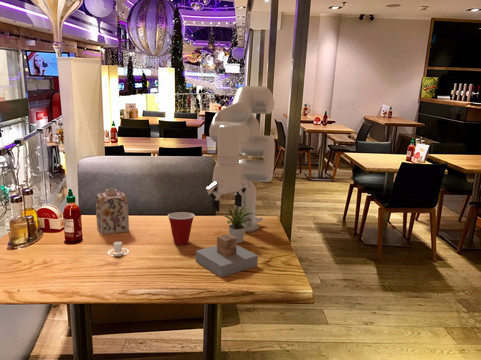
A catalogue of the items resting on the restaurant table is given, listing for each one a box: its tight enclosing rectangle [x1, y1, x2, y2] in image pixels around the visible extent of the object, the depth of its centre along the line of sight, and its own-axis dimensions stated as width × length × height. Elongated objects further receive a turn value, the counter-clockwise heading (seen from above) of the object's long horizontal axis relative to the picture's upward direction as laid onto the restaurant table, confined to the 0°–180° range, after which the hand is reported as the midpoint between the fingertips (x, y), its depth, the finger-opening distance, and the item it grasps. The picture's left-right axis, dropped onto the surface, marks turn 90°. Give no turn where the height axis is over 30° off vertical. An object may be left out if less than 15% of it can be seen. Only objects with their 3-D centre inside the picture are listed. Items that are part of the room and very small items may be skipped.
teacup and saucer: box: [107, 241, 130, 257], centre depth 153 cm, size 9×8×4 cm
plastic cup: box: [167, 211, 196, 246], centre depth 164 cm, size 11×11×12 cm
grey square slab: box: [194, 244, 259, 278], centre depth 146 cm, size 16×16×4 cm
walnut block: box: [216, 233, 238, 257], centre depth 145 cm, size 5×5×6 cm
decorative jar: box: [95, 188, 130, 236], centre depth 176 cm, size 12×12×18 cm
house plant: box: [223, 205, 256, 244], centre depth 166 cm, size 14×14×16 cm
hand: (227, 208), depth 143 cm, fingers open, 9 cm apart
